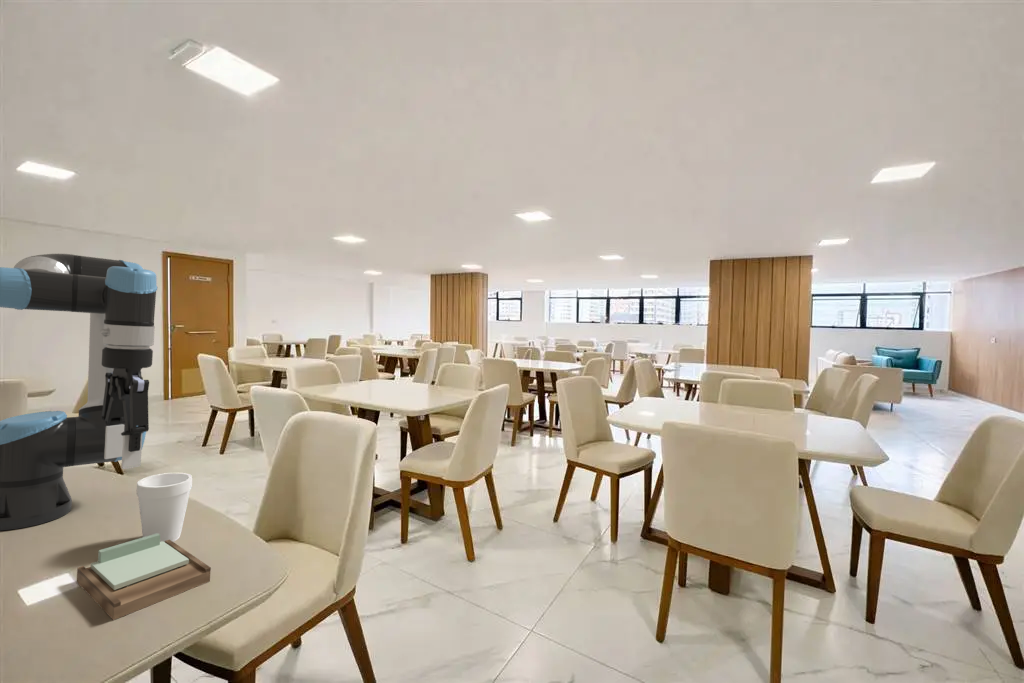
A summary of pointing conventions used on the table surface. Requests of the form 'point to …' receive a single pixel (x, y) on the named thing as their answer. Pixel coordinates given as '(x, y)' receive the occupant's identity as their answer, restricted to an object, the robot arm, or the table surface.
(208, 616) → the table surface
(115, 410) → the robot arm
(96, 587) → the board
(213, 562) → the table surface
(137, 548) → the cover
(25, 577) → the table surface
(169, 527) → the foam cup
